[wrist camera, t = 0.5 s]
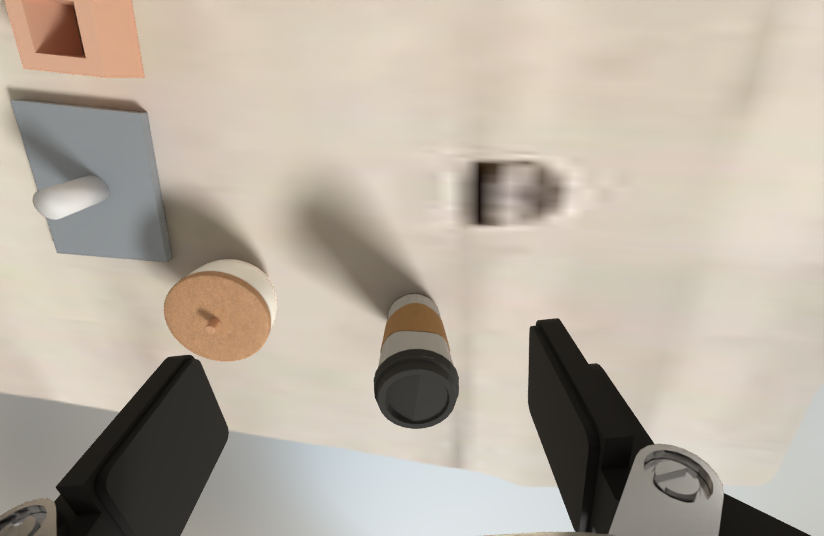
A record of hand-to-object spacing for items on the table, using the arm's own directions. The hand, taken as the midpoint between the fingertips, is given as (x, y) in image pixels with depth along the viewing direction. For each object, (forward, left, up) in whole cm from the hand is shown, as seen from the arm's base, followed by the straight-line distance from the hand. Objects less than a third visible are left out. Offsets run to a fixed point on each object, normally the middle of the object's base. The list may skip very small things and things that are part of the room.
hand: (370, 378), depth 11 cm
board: (+6, -31, -34) cm, 47 cm away
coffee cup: (+19, +4, -34) cm, 40 cm away
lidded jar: (+17, -17, -34) cm, 42 cm away
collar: (-9, -28, -34) cm, 45 cm away
